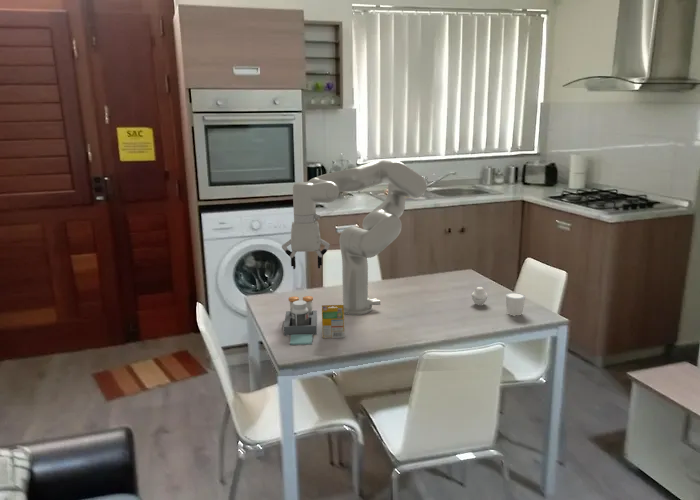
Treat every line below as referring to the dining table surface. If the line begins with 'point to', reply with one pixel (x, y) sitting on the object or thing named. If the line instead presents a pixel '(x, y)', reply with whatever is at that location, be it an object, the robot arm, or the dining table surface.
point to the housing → (300, 329)
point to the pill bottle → (300, 313)
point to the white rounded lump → (479, 296)
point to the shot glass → (515, 303)
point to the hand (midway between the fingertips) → (306, 267)
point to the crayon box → (333, 321)
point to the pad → (301, 339)
